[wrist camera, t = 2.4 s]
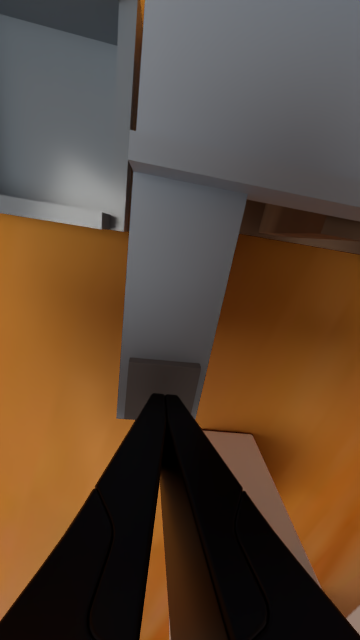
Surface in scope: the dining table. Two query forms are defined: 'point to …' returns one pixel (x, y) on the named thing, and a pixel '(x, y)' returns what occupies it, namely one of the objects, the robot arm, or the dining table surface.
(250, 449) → the jar
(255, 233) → the catapult base
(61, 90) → the grey open box
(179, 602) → the robot arm
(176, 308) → the lever
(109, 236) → the dining table surface
